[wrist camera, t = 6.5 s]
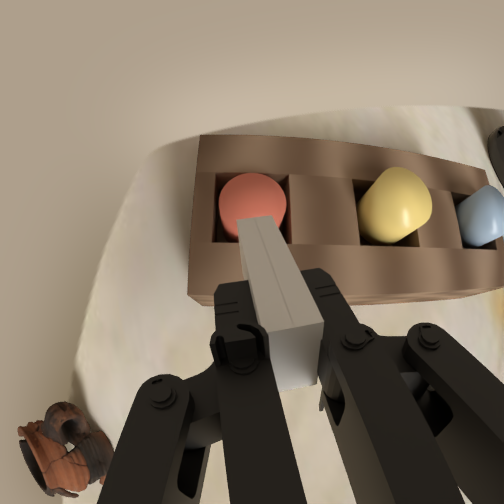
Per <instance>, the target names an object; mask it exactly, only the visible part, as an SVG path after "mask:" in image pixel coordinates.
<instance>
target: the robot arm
mask: <svg viewBox="0 0 504 504" xmlns="http://www.w3.org/2000/svg"><path fill="white" fill-rule="evenodd" d="M488 150H489V154H490V158H491V161H492V164H493V166H494V169H495V171H496V173H497V175H498V177H499V179H500V181H501V183H502V185H503V186H504V126H502V127H499V128H498V129H496V130H495V131H494V132H493V133H492V134H491V135H490V136H489V139H488ZM236 221H237V229H238V238H239V246H240V254H241V263H242V271H243V277H244V280H243V281H237V282H230V283H223V284H219V285H218V287H217V289H216V291H215V293H214V310H215V326H216V331H215V332H214V333H213V335H212V336H211V340H210V348H211V352H212V355H213V359H214V362H213V363H212V365H211V366H210V367H209V368H208V369H206V370H205V371H204V372H202V373H200V374H198V375H195V376H193V377H190V378H188V379H185V380H182V379H181V378H179V377H177V376H174V375H171V374H162V375H157V376H154V377H152V378H150V379H148V380H147V381H146V382H144V383H143V384H142V386H141V387H140V389H139V390H138V392H137V394H136V397H135V399H134V402H133V404H132V407H131V409H130V412H129V415H128V417H127V420H126V422H125V425H124V428H123V430H122V433H121V436H120V438H119V441H118V444H117V447H116V449H115V452H114V455H113V458H112V460H111V463H110V466H109V469H108V472H107V475H106V478H105V481H104V484H103V487H102V490H101V493H100V496H99V499H98V502H97V504H199V503H200V498H201V493H202V488H203V482H204V477H205V472H206V467H207V462H208V457H209V452H210V447H211V444H213V443H215V442H218V441H220V440H223V449H224V457H225V466H226V474H227V482H228V490H229V497H230V504H307V501H306V497H305V493H304V490H303V486H302V482H301V478H300V474H299V470H298V466H297V462H296V459H295V455H294V451H293V447H292V443H291V439H290V435H289V431H288V427H287V423H286V419H285V415H284V411H283V407H282V403H281V399H280V395H279V392H282V391H287V390H292V389H297V388H302V387H306V386H311V385H315V384H317V378H318V376H319V379H320V382H321V385H322V391H321V397H320V402H319V411H323V408H324V407H325V410H326V413H327V416H328V419H329V422H330V425H331V428H332V431H333V433H334V436H335V439H336V442H337V445H338V448H339V451H340V454H341V457H342V460H343V463H344V466H345V469H346V472H347V475H348V478H349V481H350V484H351V487H352V490H353V493H354V497H355V500H356V503H357V504H465V502H464V500H463V497H462V495H461V493H460V490H459V488H460V489H461V490H462V492H463V493H464V494H465V495H466V496H467V498H468V499H469V500H470V501H471V502H472V504H504V384H503V383H502V382H501V381H500V380H499V379H498V378H496V377H495V376H494V375H493V374H492V373H491V372H490V371H489V370H488V369H487V368H486V367H485V366H484V365H483V364H482V363H481V362H479V361H478V360H477V359H476V358H475V357H474V356H473V355H472V354H471V353H470V352H468V351H467V350H466V349H465V348H464V347H463V346H462V345H461V344H460V343H458V342H457V341H456V340H455V339H454V338H453V337H452V336H450V335H449V334H448V333H447V332H446V331H445V330H444V329H442V328H440V327H439V326H437V325H435V324H431V323H419V324H416V325H413V326H412V327H411V328H410V329H409V331H408V334H407V336H380V335H377V333H376V332H375V331H374V330H373V329H372V328H370V327H368V326H366V325H364V324H360V323H359V322H358V320H357V318H356V316H355V315H354V313H353V311H352V310H351V308H350V306H349V305H348V303H347V301H346V300H345V298H344V296H343V295H342V294H341V291H340V290H339V288H338V287H337V286H336V283H335V282H334V280H333V278H332V277H331V275H330V274H328V273H327V272H325V271H324V270H323V269H321V268H314V269H308V270H302V271H300V270H299V268H298V266H297V264H296V262H295V260H294V258H293V256H292V254H291V252H290V250H289V248H288V246H287V244H286V242H285V240H284V238H283V236H282V234H281V232H280V230H279V229H278V227H277V225H276V223H275V221H274V219H273V217H272V215H269V216H261V217H253V218H246V219H239V220H236ZM458 487H459V488H458Z"/></svg>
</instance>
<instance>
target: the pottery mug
mask: <svg viewBox="0 0 504 504" xmlns="http://www.w3.org/2000/svg"><path fill="white" fill-rule="evenodd" d="M42 432H43V433H42ZM18 435H19V436H24V438H25V440H20V441H19V444H20V448H21V451H22V453H23V456H24V459H25V461H26V464H27V465H28V468H29V469H30V472H31V473H32V475H33V477H34V478H35V480H36V482H37V483H38V485H39V486H40V487H41V489H42V490H43V491H44V492H45V493H46V494H47V495H49V496H54V494H56V493H58V494H60V495H63V496H66V497H72V498H76V497H79V495H78V494H75V493H71V492H68V491H66V490H65V489H67V490H71V491H76V492H80V491H82V490H85V489H86V488H87V485H88V484H92V483H94V482H96V480H98V479H100V484H102V485H103V484H104V481H105V478H106V475H107V472H108V469H109V466H110V463H111V460H112V458H113V455H114V452H113V449H112V447H111V444H110V442H109V441H108V439H107V437H106V436H105V434H104V433H103V432H102V431H99V432H92V433H90V426H89V424H88V422H87V421H86V419H85V416H84V414H83V412H82V411H81V410H80V409H79V408H78V407H77V406H75V405H73V404H71V403H67V402H58V403H55V404H53V405H52V406H50V407H49V408H48V410H47V412H46V415H45V420H44V422H43V421H42V420H41V421H39V420H38V421H36V422H35V423H33V422H29V423H28V425H27V426H25V427H22V426H20V427H18ZM68 442H69V443H71V444H73V445H74V446H75V447H74V448H73V449H72V450H71V451H70V452H68V451H67V449H66V447H65V446H64V444H67V443H68Z"/></svg>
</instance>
